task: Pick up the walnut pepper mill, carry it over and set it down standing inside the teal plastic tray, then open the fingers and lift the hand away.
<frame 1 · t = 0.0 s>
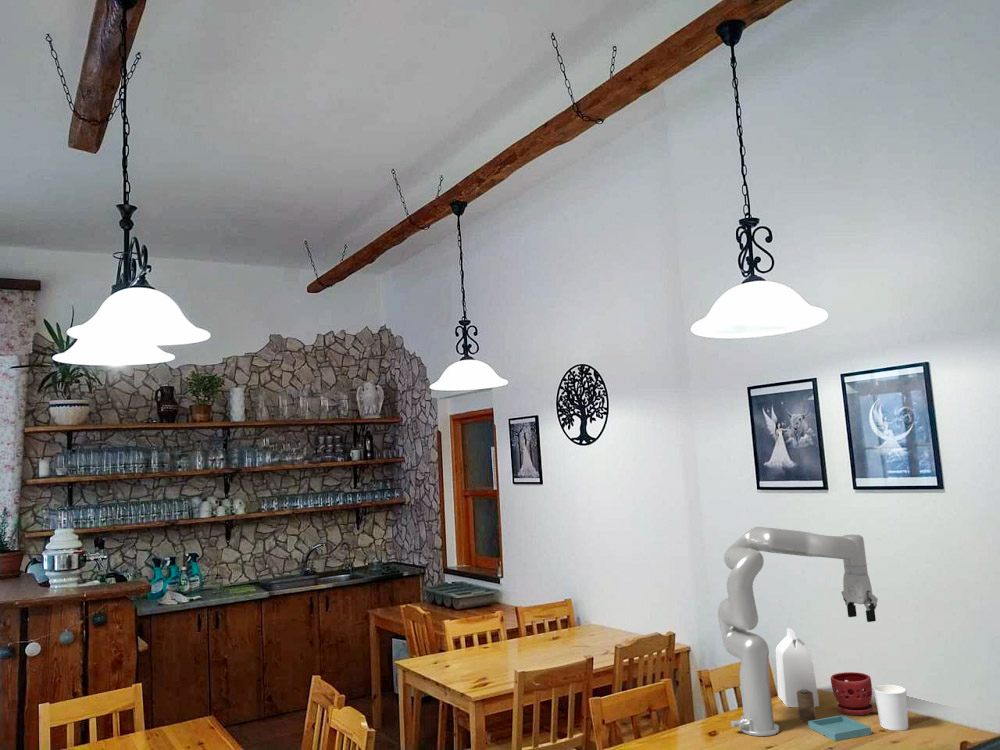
hand: (861, 619, 276), 31 cm above the table, tool pointing down, fingers open, 9 cm apart
candle holder: (894, 727, 256), on the table
pepper mill: (807, 719, 268), on the table
milk: (798, 702, 287), on the table
plant pot: (854, 712, 273), on the table
tray: (839, 731, 255), on the table
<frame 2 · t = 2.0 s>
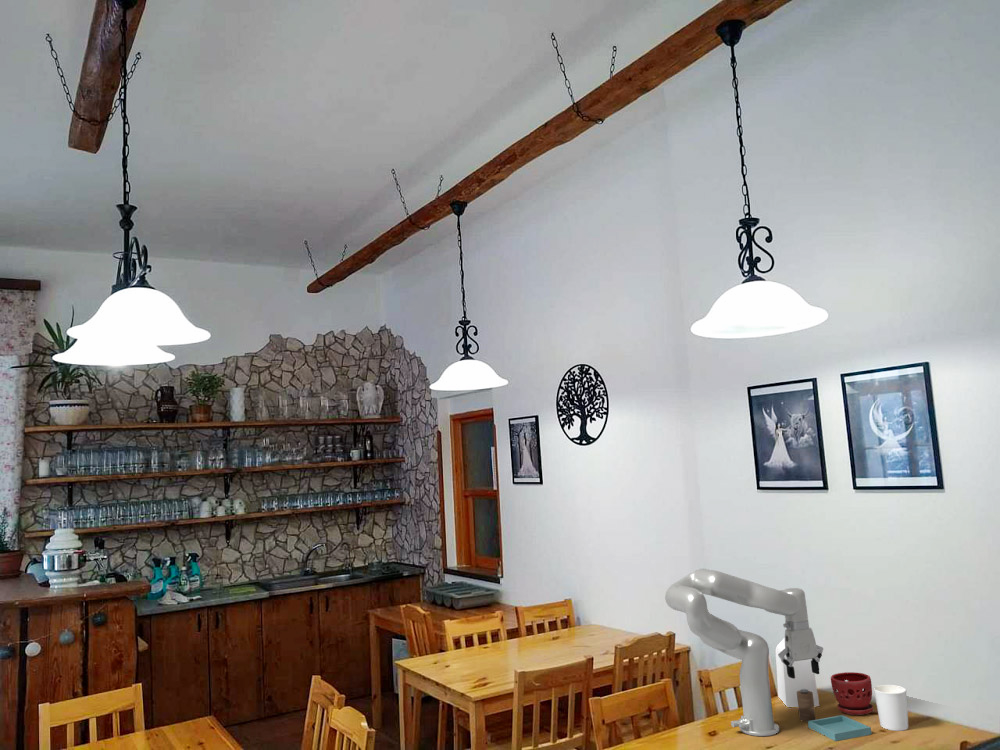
hand: (803, 675, 270), 15 cm above the table, tool pointing down, fingers open, 9 cm apart
nothing on the table moved.
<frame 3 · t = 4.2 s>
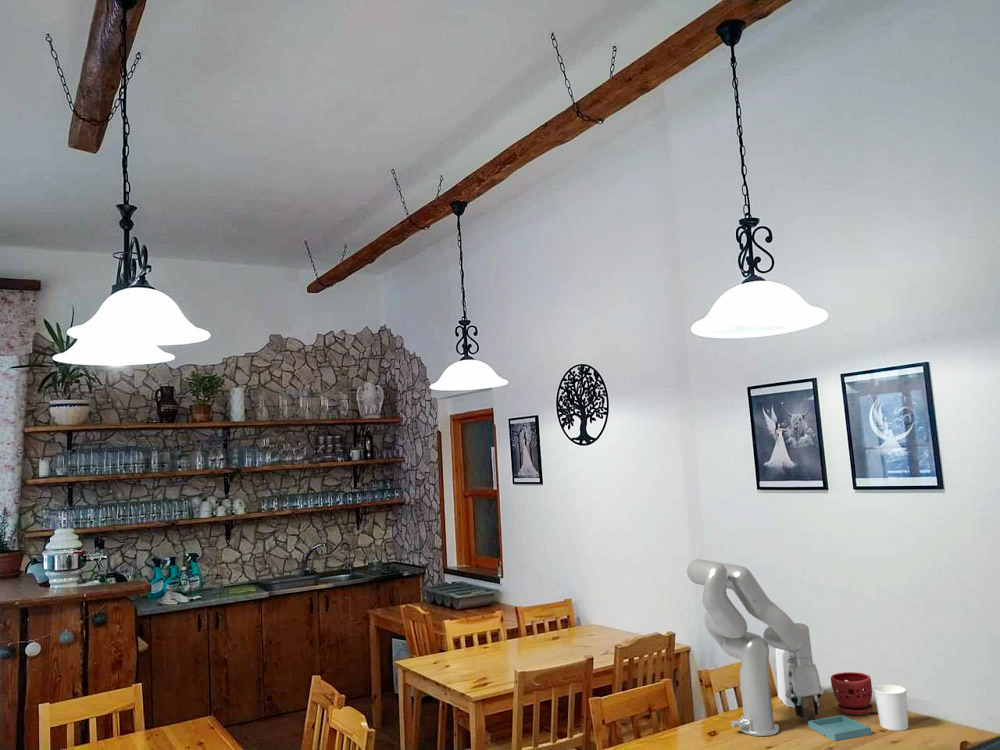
hand: (807, 714, 268), 2 cm above the table, tool pointing down, fingers closed on pepper mill, 5 cm apart
pepper mill: (807, 719, 268), on the table, touching gripper
everything else where it was.
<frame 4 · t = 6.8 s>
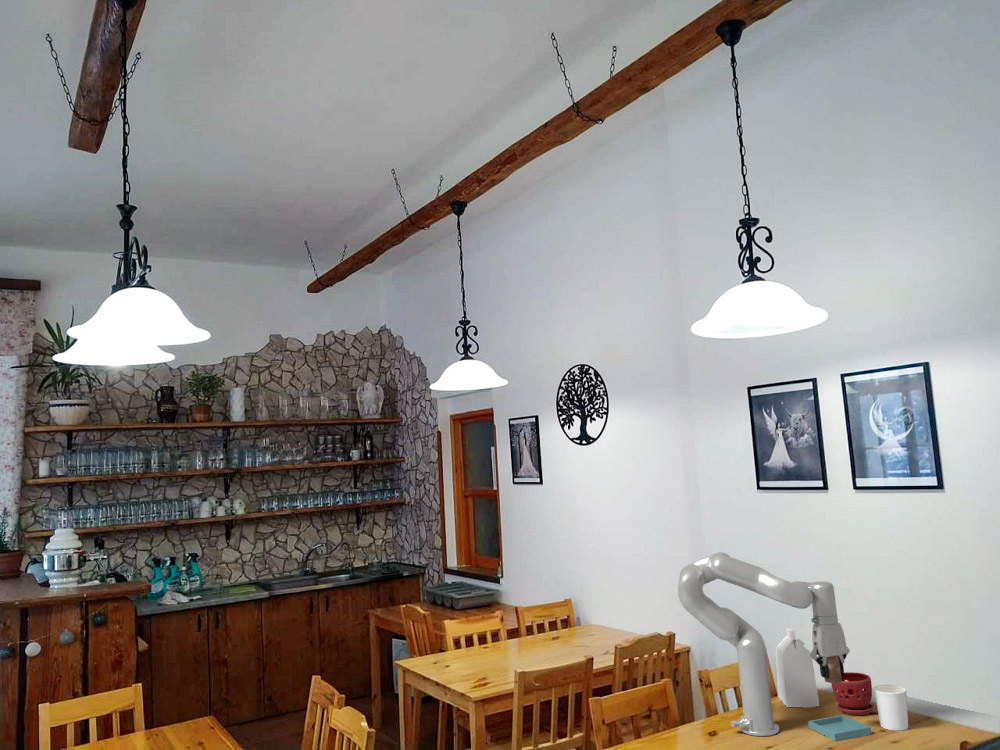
hand: (832, 675, 257), 18 cm above the table, tool pointing down, fingers closed on pepper mill, 5 cm apart
pepper mill: (833, 680, 257), point 16 cm above the table, touching gripper
everything else where it was.
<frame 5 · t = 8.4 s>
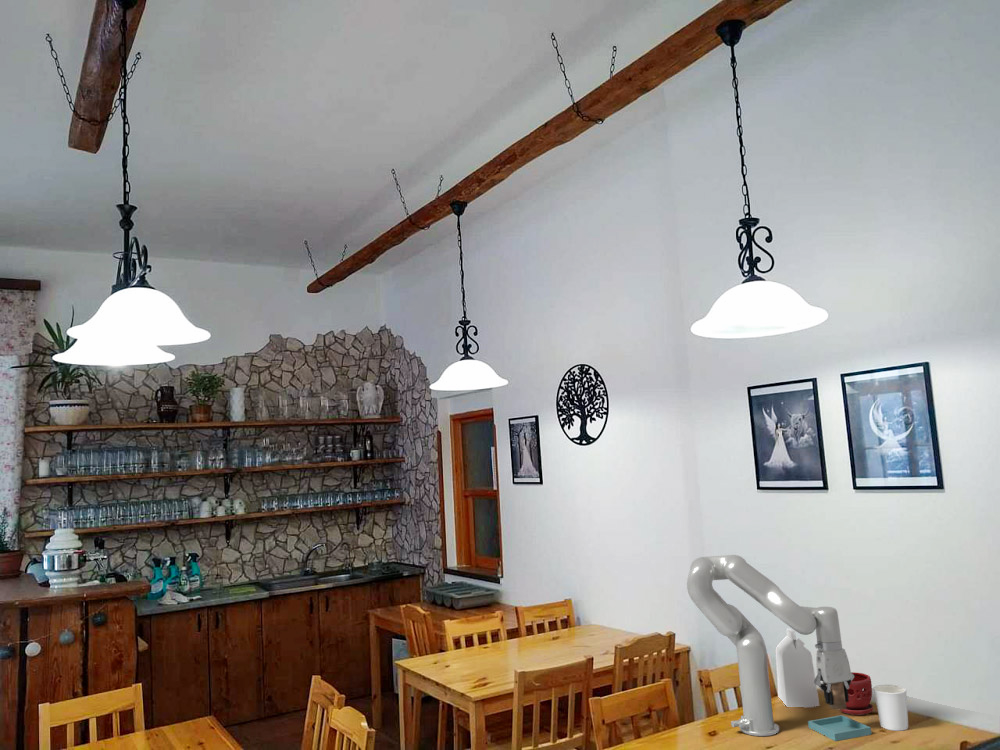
hand: (837, 701, 256), 9 cm above the table, tool pointing down, fingers closed on pepper mill, 5 cm apart
pepper mill: (837, 707, 256), point 8 cm above the table, touching gripper
everything else where it was.
when the fingers open (4 cm above the table, at t = 9.9 s): pepper mill drops 1 cm, resting on tray.
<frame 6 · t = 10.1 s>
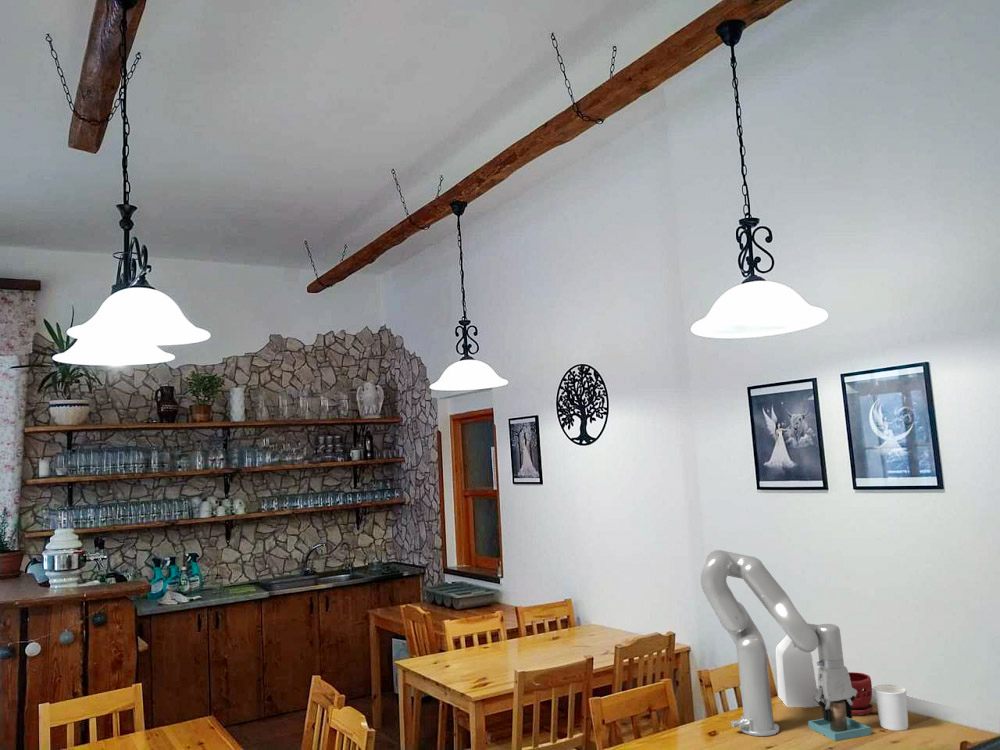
hand: (838, 718, 256), 4 cm above the table, tool pointing down, fingers open, 7 cm apart
pepper mill: (838, 729, 255), point 1 cm above the table, touching tray
everything else where it was.
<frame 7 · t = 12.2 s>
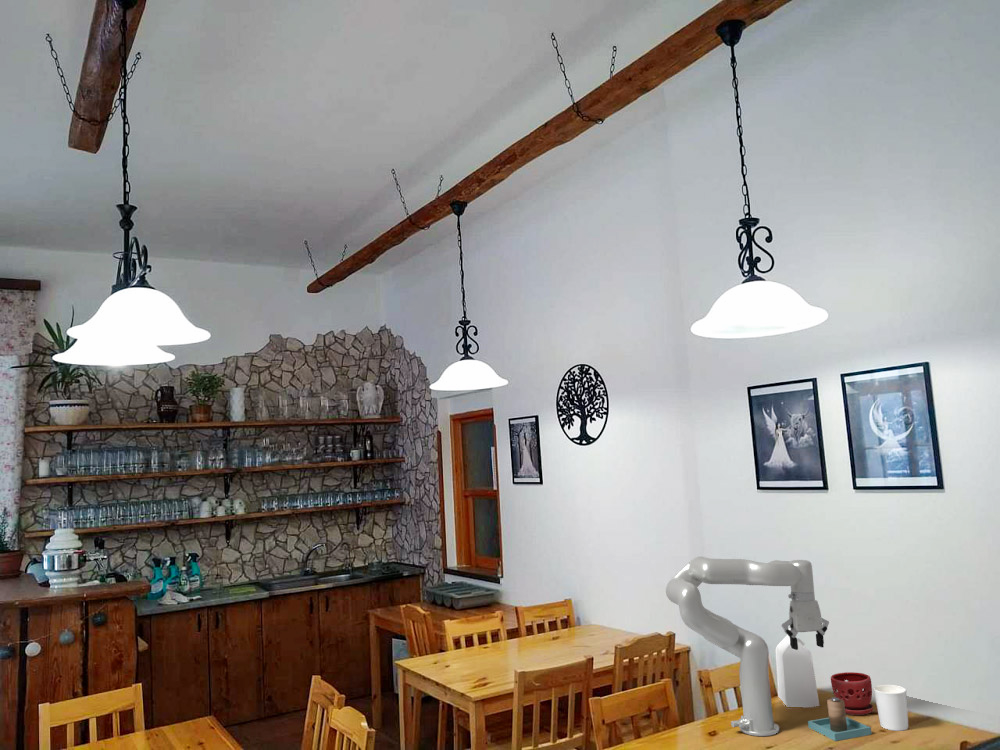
hand: (807, 647, 267), 25 cm above the table, tool pointing down, fingers open, 9 cm apart
nothing on the table moved.
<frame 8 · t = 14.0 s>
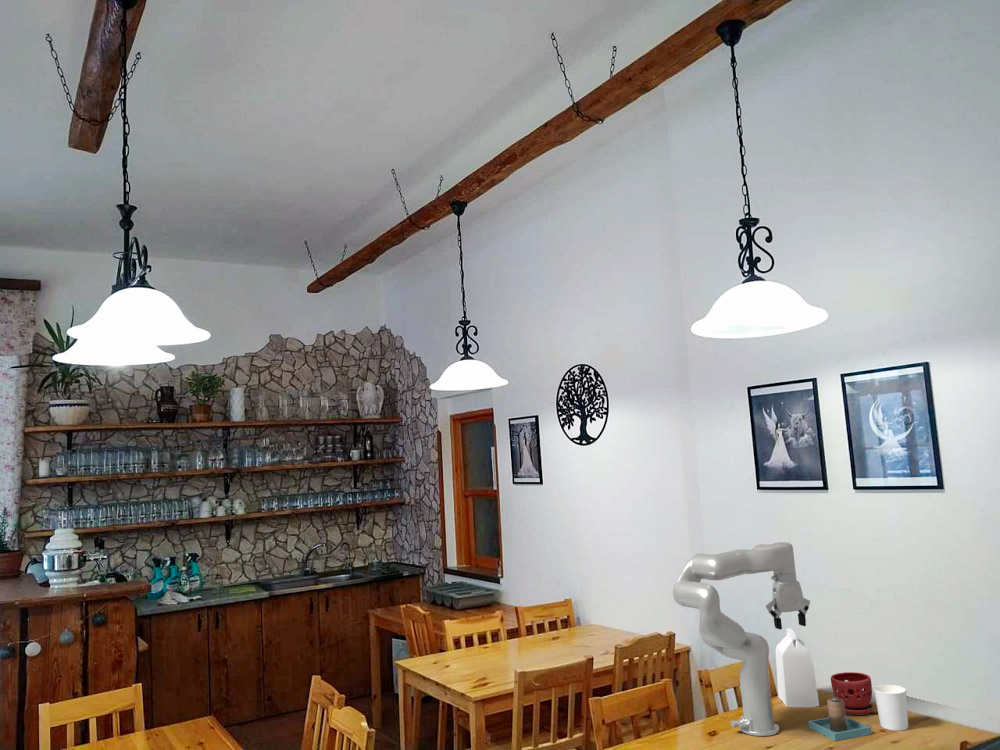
hand: (790, 627, 275), 30 cm above the table, tool pointing down, fingers open, 9 cm apart
nothing on the table moved.
at the end: pepper mill inside the target area on the tray (0.1 cm from its centre), point 0.5 cm above the tray's base; pepper mill tilted 1°; the gripper is holding nothing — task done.
